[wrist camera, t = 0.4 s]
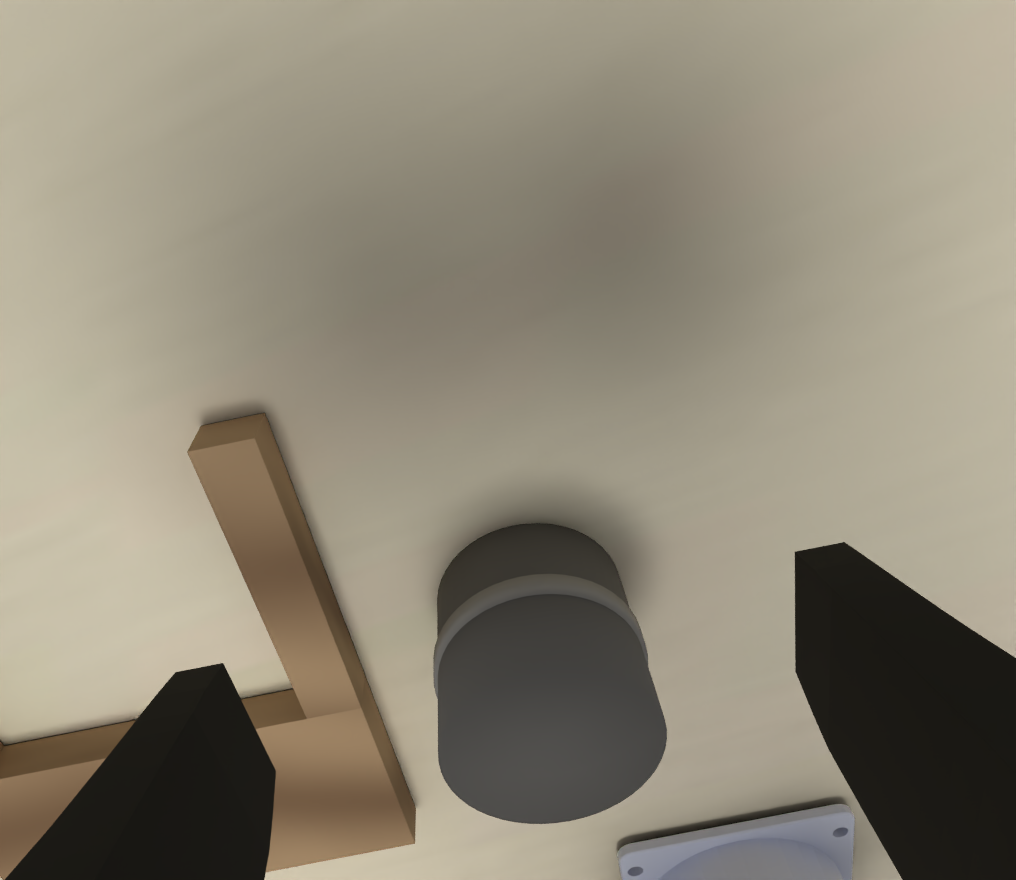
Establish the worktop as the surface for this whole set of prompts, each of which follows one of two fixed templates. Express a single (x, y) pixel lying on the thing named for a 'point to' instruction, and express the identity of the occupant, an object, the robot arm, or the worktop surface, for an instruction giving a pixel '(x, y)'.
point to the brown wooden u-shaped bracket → (276, 717)
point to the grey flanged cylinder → (542, 679)
